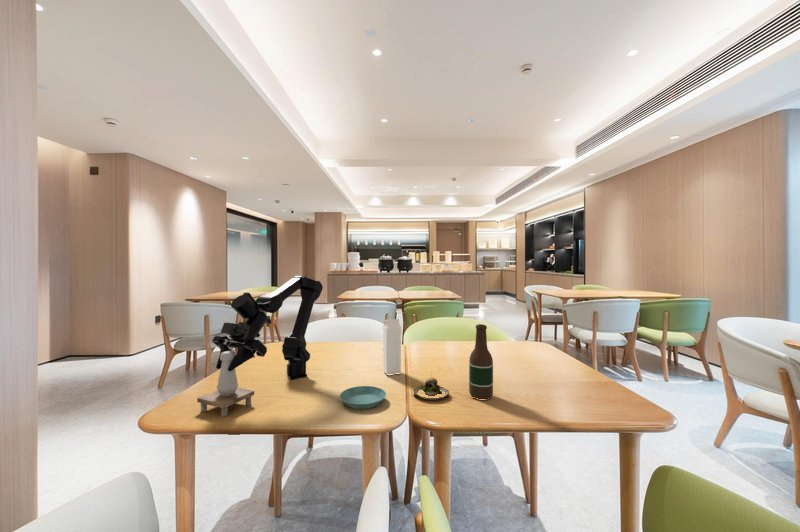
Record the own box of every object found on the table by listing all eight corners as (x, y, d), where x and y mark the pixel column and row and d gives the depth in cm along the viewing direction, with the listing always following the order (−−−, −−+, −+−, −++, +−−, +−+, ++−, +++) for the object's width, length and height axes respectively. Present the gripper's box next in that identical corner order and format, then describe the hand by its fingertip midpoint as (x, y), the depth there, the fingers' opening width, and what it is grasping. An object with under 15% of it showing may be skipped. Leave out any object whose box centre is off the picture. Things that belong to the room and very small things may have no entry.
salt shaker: (219, 399, 98) (219, 355, 98) (214, 393, 103) (214, 351, 103) (240, 394, 102) (240, 352, 102) (235, 389, 106) (235, 348, 106)
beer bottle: (493, 393, 115) (493, 323, 115) (492, 402, 107) (492, 327, 107) (470, 390, 117) (470, 322, 117) (467, 399, 110) (467, 326, 110)
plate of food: (408, 400, 109) (408, 377, 109) (419, 388, 120) (420, 367, 120) (444, 405, 105) (444, 382, 105) (452, 392, 116) (452, 371, 116)
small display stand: (229, 398, 109) (229, 385, 109) (254, 403, 105) (254, 391, 105) (197, 411, 99) (197, 398, 99) (223, 418, 95) (223, 404, 95)
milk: (400, 375, 134) (401, 320, 134) (386, 376, 132) (386, 320, 132) (396, 370, 140) (397, 317, 139) (382, 371, 138) (383, 318, 138)
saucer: (335, 397, 111) (335, 389, 111) (377, 391, 117) (377, 383, 117) (346, 415, 98) (346, 406, 98) (392, 407, 103) (392, 399, 103)
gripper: (217, 310, 109) (183, 352, 99) (260, 314, 102) (229, 359, 92) (237, 330, 117) (208, 370, 107) (278, 334, 109) (251, 378, 99)
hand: (222, 369), depth 101 cm, fingers open, 5 cm apart
